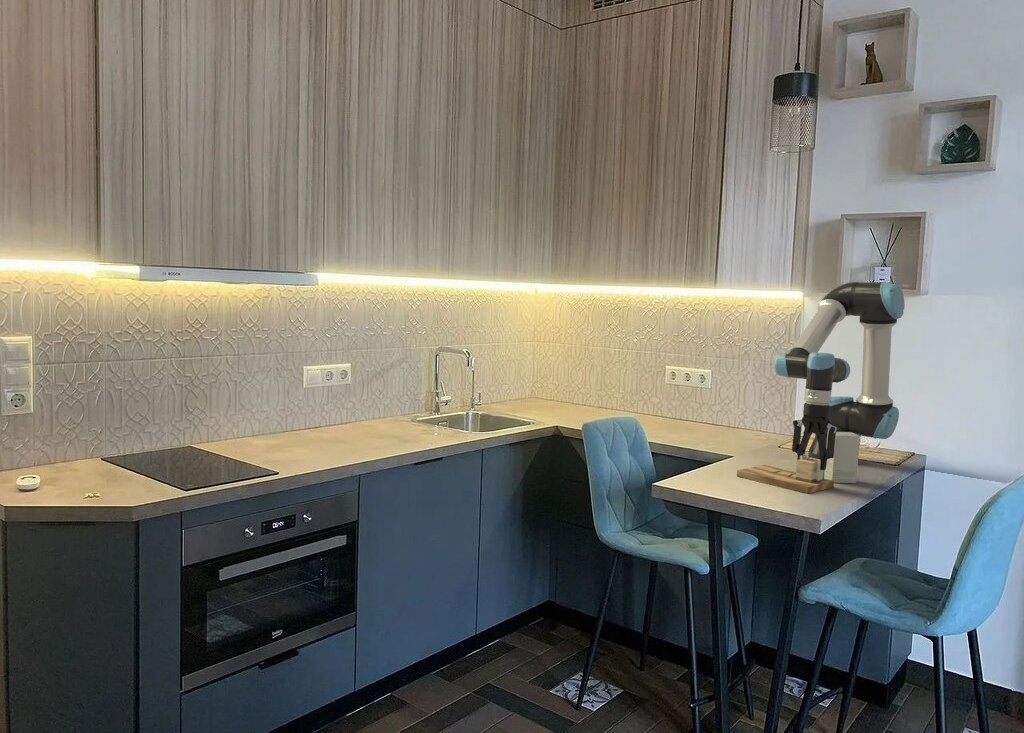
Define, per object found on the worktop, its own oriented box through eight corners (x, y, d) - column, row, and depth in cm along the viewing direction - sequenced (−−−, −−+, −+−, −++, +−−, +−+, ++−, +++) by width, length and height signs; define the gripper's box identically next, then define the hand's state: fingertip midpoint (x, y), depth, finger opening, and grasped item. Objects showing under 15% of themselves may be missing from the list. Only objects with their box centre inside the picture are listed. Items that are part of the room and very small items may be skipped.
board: (763, 470, 261) (764, 464, 261) (833, 487, 243) (834, 480, 243) (736, 476, 251) (737, 470, 250) (807, 493, 233) (807, 487, 232)
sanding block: (808, 476, 247) (810, 457, 246) (823, 479, 243) (825, 460, 243) (795, 479, 242) (797, 459, 241) (810, 482, 238) (812, 463, 237)
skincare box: (847, 479, 255) (852, 431, 254) (857, 484, 249) (862, 435, 247) (822, 478, 255) (826, 430, 254) (831, 483, 249) (835, 434, 247)
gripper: (783, 399, 245) (777, 473, 247) (839, 408, 231) (832, 486, 233) (796, 398, 249) (789, 470, 252) (851, 406, 236) (844, 482, 238)
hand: (810, 477), depth 243 cm, fingers closed on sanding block, 5 cm apart
